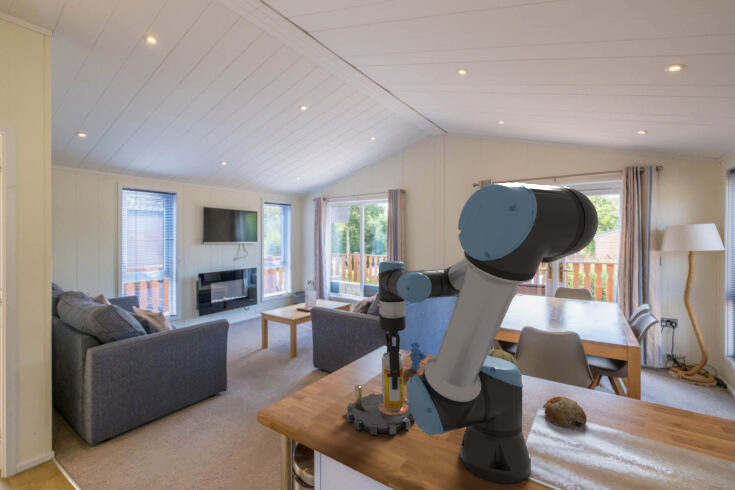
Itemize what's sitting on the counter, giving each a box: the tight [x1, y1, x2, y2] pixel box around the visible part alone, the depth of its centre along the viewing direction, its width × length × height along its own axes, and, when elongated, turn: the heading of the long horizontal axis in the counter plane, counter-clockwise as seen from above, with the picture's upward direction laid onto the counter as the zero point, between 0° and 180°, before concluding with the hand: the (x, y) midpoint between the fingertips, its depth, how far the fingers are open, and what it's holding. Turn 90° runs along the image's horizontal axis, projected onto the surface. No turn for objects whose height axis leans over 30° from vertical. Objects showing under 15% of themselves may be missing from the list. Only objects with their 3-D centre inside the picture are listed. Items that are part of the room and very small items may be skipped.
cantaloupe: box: [487, 345, 523, 377], centre depth 111 cm, size 15×15×15 cm
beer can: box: [381, 351, 404, 411], centre depth 97 cm, size 6×6×15 cm
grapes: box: [408, 340, 427, 372], centre depth 131 cm, size 12×7×12 cm, turn 171°
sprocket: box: [346, 384, 415, 436], centre depth 97 cm, size 20×20×8 cm
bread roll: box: [542, 396, 587, 431], centre depth 95 cm, size 10×10×8 cm
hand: (393, 389), depth 97 cm, fingers open, 13 cm apart
